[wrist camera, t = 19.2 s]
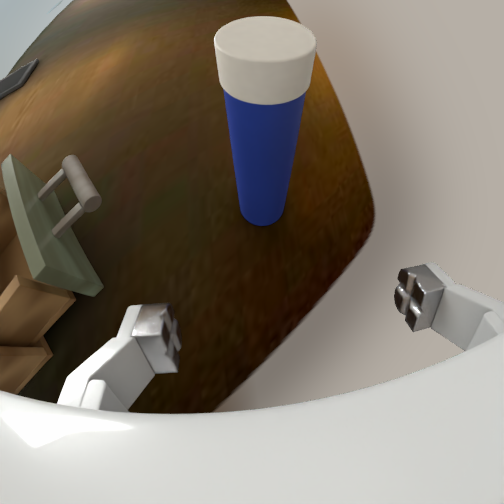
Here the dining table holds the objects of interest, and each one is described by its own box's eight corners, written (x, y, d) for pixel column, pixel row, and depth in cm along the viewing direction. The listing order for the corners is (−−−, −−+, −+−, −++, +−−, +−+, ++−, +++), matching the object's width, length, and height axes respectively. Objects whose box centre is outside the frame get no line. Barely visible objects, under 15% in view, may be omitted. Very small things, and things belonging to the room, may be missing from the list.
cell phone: (23, 85, 28) (21, 83, 27) (-18, 110, 28) (-20, 108, 28) (40, 60, 30) (39, 57, 29) (-3, 84, 30) (-4, 82, 30)
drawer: (86, 159, 21) (48, 115, 15) (145, 249, 19) (98, 211, 12) (-23, 286, 18) (-68, 272, 12) (13, 383, 16) (-40, 387, 9)
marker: (294, 207, 21) (337, 42, 7) (260, 237, 20) (263, 74, 7) (263, 177, 21) (266, 9, 8) (229, 204, 21) (193, 37, 7)
